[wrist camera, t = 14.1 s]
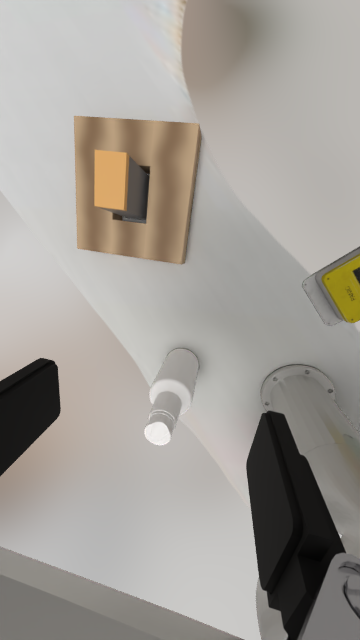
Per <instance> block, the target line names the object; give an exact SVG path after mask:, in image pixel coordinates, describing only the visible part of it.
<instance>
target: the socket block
mask: <svg viewBox="0 0 360 640" xmlns="http://www.w3.org/2000/svg"><path fill="white" fill-rule="evenodd" d="M74 134H75V173H76V213H77V249H84V250H90V251H97V252H104V253H110V254H117V255H123V256H130V257H137V258H143V259H150V260H156V261H163V262H170V263H176V264H183V263H185V256H186V248H187V241H188V233H189V226H190V219H191V211H192V204H193V196H194V189H195V182H196V174H197V167H198V159H199V152H200V144H201V131H200V125H199V124H197V123H181V122H165V121H149V120H133V119H117V118H101V117H85V116H74ZM95 150H103V151H114V152H125V153H127V154H128V155H129V156H130V157H131V158H132V159H133V160H134V161H135V162H136V163H137V164H138V165H139V166H140V167H141V168H142V169H143V171H144V172H145V173H147V174H150V179H149V193H148V207H147V220H146V224H143V223H136V222H128V221H122V216H120V215H118V214H115V213H112V212H109V211H107V210H104V209H101V208H98V207H96V206H94V184H95Z"/></svg>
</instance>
